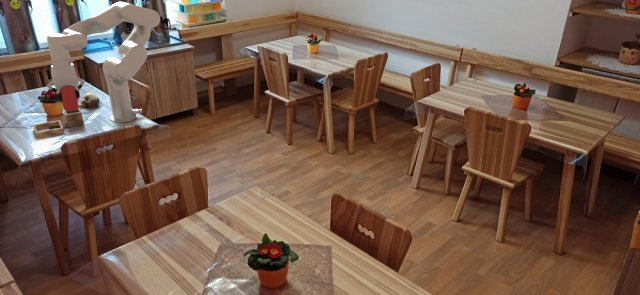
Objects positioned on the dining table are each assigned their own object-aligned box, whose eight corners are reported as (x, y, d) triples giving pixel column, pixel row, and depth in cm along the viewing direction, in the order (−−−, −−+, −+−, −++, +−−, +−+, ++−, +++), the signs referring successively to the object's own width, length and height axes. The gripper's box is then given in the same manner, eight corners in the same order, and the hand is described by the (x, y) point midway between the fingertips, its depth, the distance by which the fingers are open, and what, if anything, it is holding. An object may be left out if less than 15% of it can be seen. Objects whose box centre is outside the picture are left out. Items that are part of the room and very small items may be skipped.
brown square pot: (81, 120, 244) (79, 107, 241) (84, 125, 238) (81, 112, 235) (66, 123, 240) (63, 110, 237) (68, 128, 235) (65, 114, 232)
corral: (61, 125, 238) (59, 120, 236) (64, 133, 229) (63, 128, 228) (34, 130, 232) (33, 124, 230) (37, 139, 223) (35, 133, 222)
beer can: (73, 112, 223) (67, 87, 218) (60, 110, 224) (55, 86, 219) (82, 107, 229) (77, 83, 223) (69, 106, 230) (64, 81, 225)
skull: (72, 108, 256) (76, 90, 259) (83, 115, 266) (87, 98, 269) (93, 109, 255) (97, 91, 258) (103, 116, 265) (107, 99, 268)
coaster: (85, 126, 237) (84, 125, 237) (88, 133, 230) (88, 131, 230) (64, 130, 232) (64, 129, 232) (67, 137, 226) (67, 135, 225)
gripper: (81, 58, 224) (88, 94, 231) (38, 62, 215) (47, 100, 223) (83, 61, 218) (91, 99, 226) (40, 66, 209) (49, 105, 217)
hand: (69, 99), depth 224 cm, fingers closed on beer can, 6 cm apart
